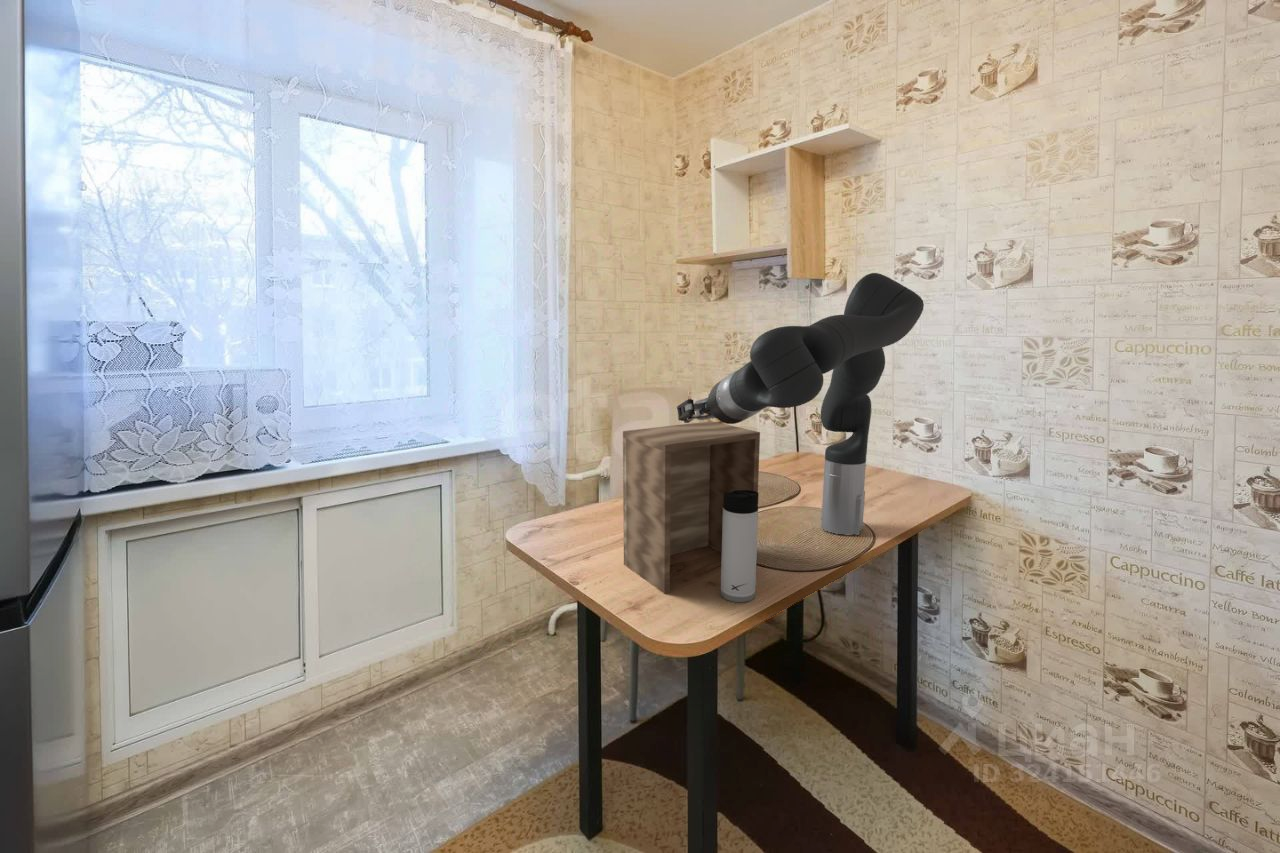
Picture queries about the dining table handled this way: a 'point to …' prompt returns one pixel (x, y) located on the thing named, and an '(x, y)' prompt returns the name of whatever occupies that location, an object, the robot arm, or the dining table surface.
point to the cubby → (681, 490)
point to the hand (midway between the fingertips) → (706, 415)
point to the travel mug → (739, 545)
